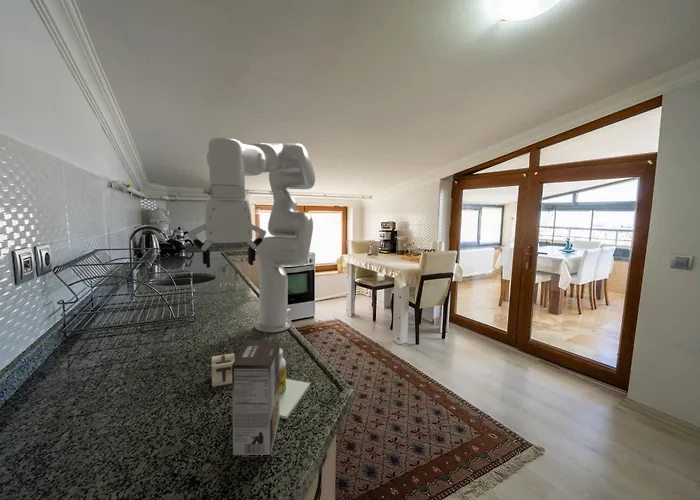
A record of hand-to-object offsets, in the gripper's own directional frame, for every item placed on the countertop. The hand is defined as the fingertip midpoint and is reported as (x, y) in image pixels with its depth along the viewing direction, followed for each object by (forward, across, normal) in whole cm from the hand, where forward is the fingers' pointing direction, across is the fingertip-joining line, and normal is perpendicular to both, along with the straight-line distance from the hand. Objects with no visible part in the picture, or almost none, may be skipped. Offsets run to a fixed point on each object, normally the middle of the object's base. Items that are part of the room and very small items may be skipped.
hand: (230, 265), depth 72 cm
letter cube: (+27, -3, -5) cm, 27 cm away
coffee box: (+26, +1, -27) cm, 38 cm away
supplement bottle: (+26, +6, -16) cm, 31 cm away
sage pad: (+26, +6, -16) cm, 32 cm away
